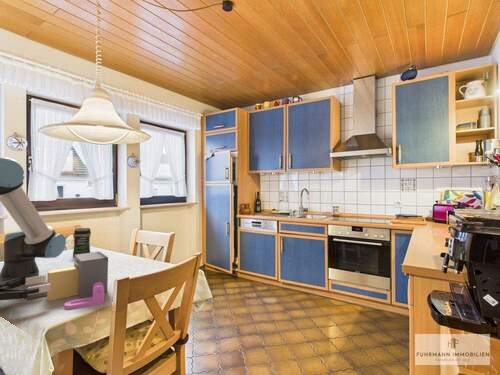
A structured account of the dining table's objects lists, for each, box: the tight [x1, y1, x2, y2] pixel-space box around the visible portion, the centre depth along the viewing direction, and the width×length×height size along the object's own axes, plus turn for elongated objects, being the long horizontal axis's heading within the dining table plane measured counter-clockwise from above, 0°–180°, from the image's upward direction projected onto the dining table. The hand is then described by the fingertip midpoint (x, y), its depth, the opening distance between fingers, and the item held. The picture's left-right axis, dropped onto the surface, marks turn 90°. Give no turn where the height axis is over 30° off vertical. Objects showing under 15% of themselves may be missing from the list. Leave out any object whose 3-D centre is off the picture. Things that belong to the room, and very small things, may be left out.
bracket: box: [63, 282, 105, 310], centre depth 104 cm, size 13×6×7 cm, turn 122°
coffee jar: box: [72, 227, 92, 258], centre depth 175 cm, size 10×8×19 cm
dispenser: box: [73, 251, 109, 299], centre depth 117 cm, size 14×11×15 cm
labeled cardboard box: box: [46, 266, 79, 302], centre depth 113 cm, size 4×16×11 cm, turn 133°
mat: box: [26, 292, 47, 301], centre depth 117 cm, size 12×18×1 cm, turn 133°
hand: (47, 282), depth 107 cm, fingers open, 13 cm apart
